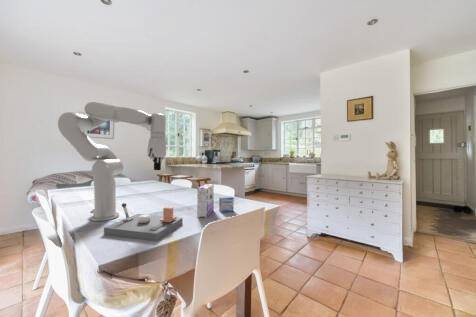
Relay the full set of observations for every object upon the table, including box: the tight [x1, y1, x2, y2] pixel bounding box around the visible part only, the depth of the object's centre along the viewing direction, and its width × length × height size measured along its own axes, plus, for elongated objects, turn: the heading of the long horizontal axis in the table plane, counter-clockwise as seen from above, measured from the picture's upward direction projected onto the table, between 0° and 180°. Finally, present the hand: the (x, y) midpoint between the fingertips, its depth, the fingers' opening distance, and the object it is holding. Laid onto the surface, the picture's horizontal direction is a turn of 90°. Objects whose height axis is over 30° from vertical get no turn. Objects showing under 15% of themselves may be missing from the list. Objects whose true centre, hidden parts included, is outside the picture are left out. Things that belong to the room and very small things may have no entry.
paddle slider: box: [160, 206, 177, 222], centre depth 92 cm, size 5×6×6 cm
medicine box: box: [218, 195, 235, 214], centre depth 119 cm, size 8×4×9 cm, turn 114°
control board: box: [103, 213, 183, 242], centre depth 90 cm, size 26×20×4 cm
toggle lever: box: [121, 202, 130, 219], centre depth 93 cm, size 2×2×7 cm
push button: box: [138, 214, 151, 223], centre depth 90 cm, size 5×5×2 cm
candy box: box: [197, 183, 215, 219], centre depth 113 cm, size 14×6×16 cm, turn 172°
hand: (157, 170), depth 106 cm, fingers closed
